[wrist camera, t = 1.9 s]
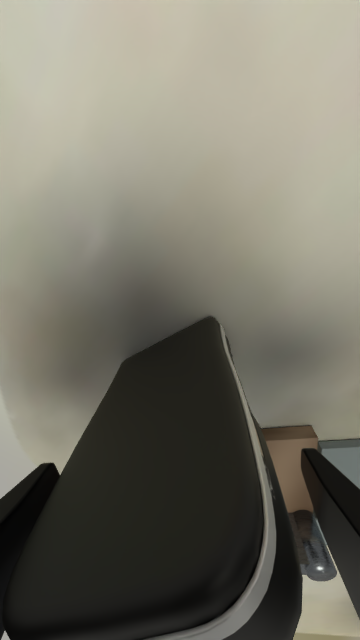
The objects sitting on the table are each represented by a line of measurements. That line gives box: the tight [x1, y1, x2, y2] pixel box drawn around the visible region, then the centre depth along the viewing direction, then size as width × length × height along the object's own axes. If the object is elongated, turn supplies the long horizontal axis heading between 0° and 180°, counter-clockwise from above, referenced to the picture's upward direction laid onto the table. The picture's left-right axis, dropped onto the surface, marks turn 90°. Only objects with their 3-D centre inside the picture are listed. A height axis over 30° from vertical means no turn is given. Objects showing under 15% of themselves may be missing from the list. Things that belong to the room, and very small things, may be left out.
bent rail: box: [288, 510, 337, 581], centre depth 16 cm, size 9×8×3 cm
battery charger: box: [2, 317, 303, 640], centre depth 10 cm, size 7×4×11 cm, turn 121°
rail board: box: [261, 426, 318, 513], centre depth 18 cm, size 11×10×1 cm
